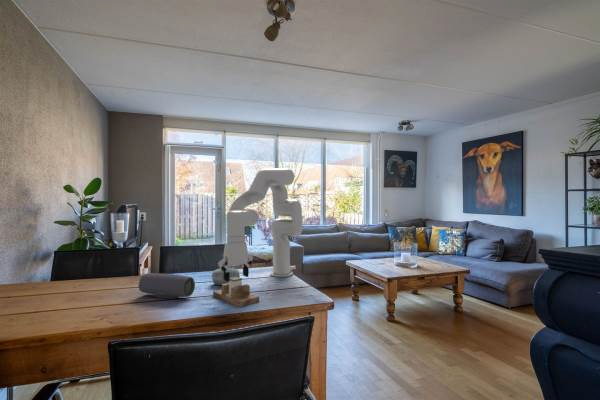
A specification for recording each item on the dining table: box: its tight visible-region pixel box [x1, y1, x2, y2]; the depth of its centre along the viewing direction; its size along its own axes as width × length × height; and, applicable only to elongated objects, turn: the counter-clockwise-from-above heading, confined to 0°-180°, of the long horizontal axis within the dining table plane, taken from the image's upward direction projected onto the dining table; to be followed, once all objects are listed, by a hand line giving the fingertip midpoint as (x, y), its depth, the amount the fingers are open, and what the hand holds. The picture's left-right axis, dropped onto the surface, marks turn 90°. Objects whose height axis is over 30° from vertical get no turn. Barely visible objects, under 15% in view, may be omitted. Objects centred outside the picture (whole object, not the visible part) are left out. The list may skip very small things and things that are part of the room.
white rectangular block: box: [229, 277, 243, 294], centre depth 137 cm, size 4×4×7 cm
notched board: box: [212, 283, 260, 308], centre depth 137 cm, size 10×20×6 cm, turn 45°
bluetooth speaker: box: [138, 272, 196, 300], centre depth 139 cm, size 23×9×10 cm, turn 74°
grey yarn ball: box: [211, 267, 241, 286], centre depth 159 cm, size 14×10×10 cm
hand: (236, 278), depth 137 cm, fingers open, 9 cm apart
